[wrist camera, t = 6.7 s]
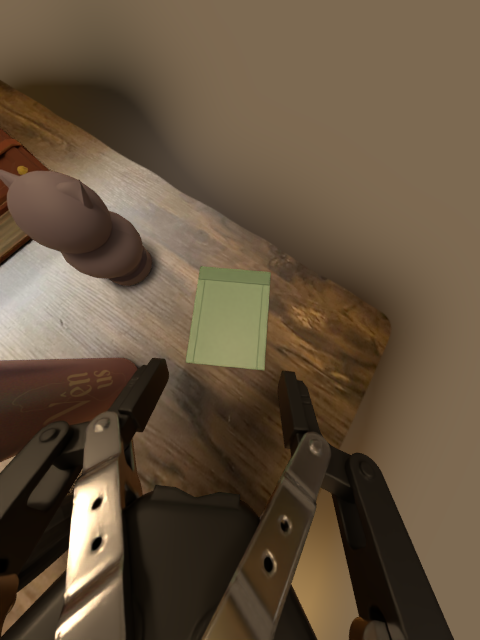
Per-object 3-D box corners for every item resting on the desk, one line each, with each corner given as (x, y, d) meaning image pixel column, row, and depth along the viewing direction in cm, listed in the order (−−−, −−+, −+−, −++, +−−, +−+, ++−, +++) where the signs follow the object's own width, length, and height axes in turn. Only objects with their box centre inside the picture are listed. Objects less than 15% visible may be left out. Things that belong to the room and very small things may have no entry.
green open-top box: (254, 364, 22) (264, 370, 13) (207, 359, 22) (185, 362, 13) (259, 303, 23) (270, 271, 14) (215, 299, 23) (199, 265, 15)
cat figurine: (90, 285, 24) (-56, 217, 12) (109, 236, 25) (-4, 133, 14) (149, 296, 23) (57, 238, 12) (165, 246, 25) (98, 149, 13)
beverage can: (93, 363, 22) (-214, 381, 7) (140, 352, 22) (-61, 349, 7) (96, 413, 21) (-262, 559, 6) (146, 401, 21) (-80, 513, 6)
